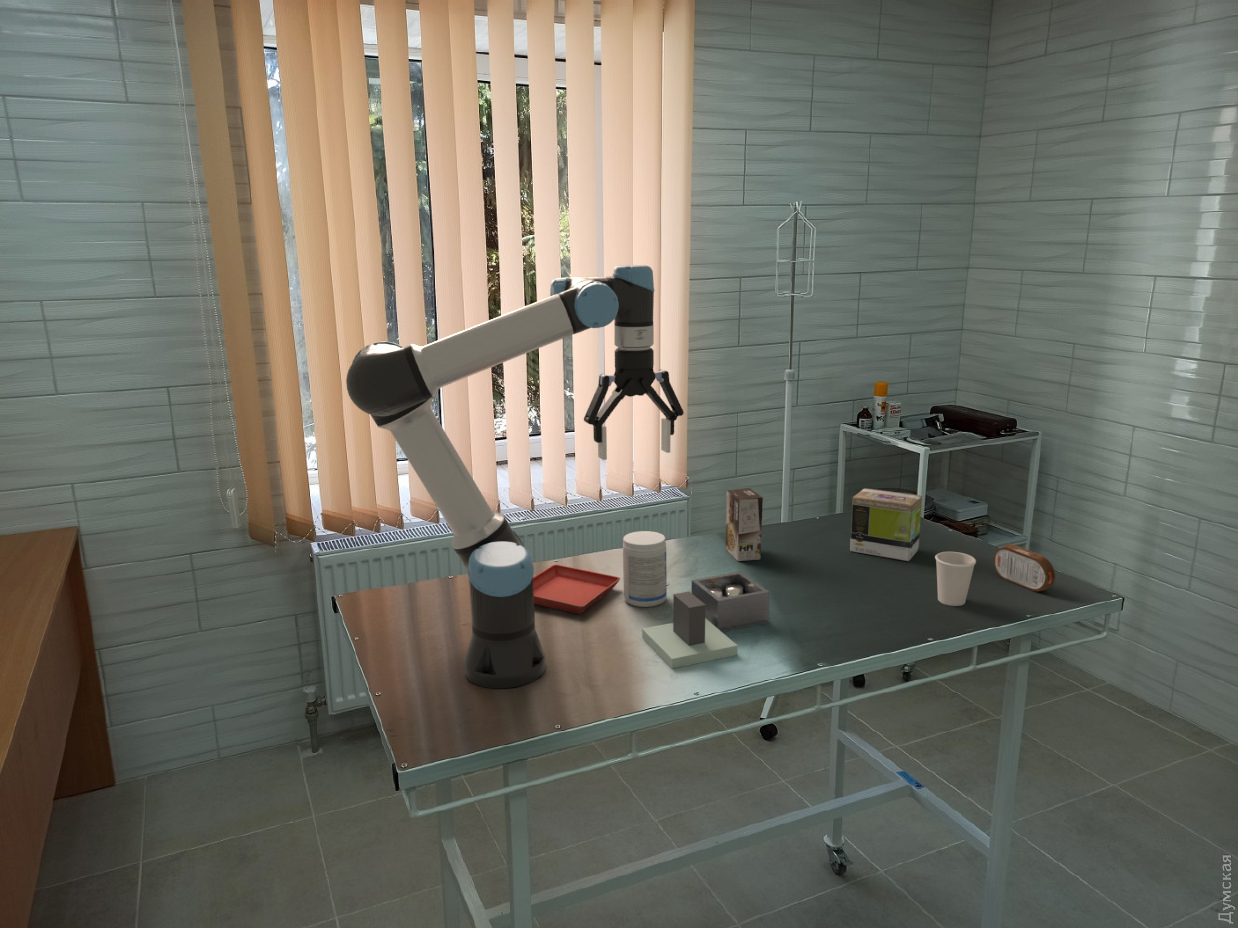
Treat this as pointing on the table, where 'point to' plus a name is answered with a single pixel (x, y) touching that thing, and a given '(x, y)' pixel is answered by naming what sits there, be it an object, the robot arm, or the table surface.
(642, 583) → the supplement tub
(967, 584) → the dixie cup
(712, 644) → the lid
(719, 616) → the instrument box
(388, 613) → the table surface
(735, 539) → the coffee box
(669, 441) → the robot arm
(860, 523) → the tea box
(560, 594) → the plant saucer
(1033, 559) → the tin
